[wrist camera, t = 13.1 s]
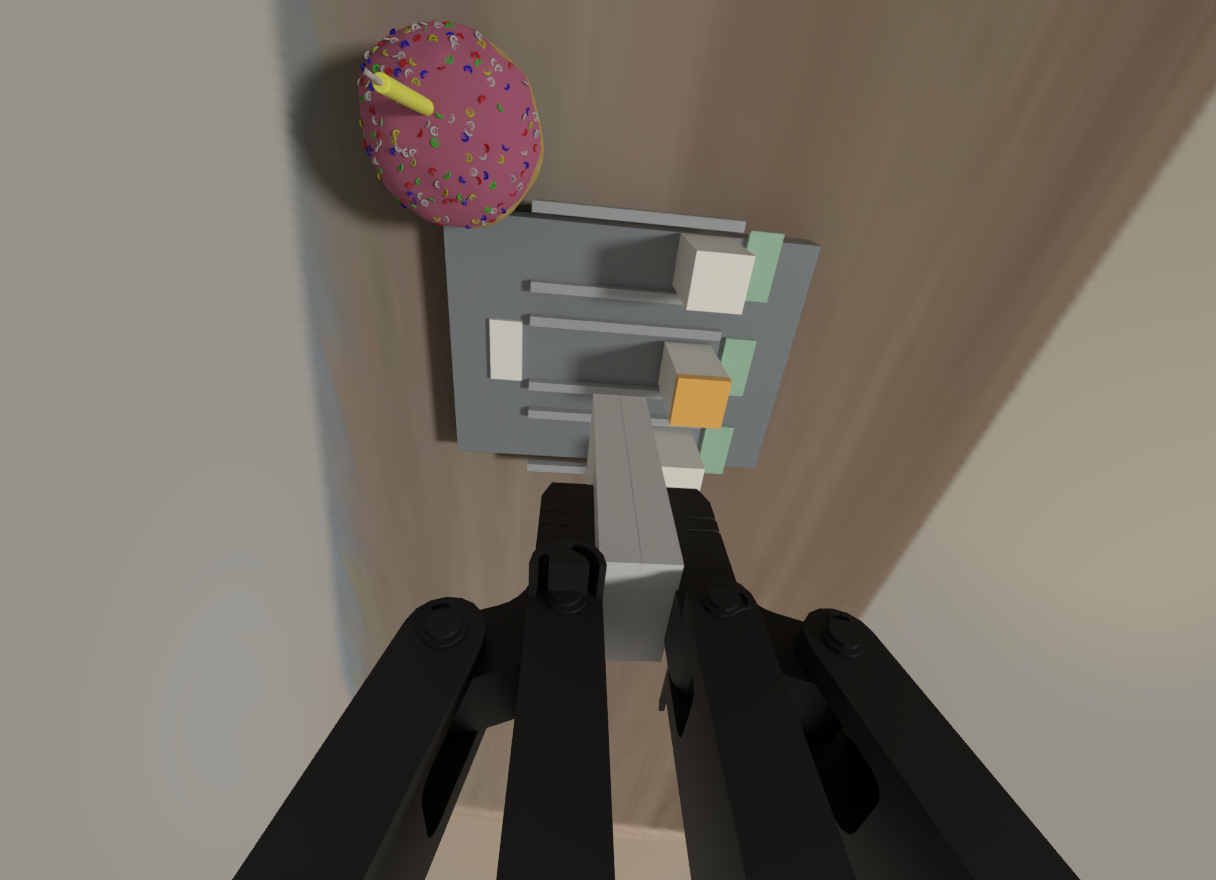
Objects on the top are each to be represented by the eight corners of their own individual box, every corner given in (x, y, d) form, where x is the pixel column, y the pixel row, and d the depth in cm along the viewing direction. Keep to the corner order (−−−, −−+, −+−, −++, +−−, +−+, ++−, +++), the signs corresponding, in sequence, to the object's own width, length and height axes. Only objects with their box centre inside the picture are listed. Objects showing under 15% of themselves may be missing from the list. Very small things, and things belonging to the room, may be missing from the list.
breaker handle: (664, 341, 33) (678, 377, 28) (710, 344, 33) (732, 381, 28) (657, 383, 34) (669, 425, 29) (701, 386, 34) (720, 428, 30)
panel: (449, 185, 30) (415, 200, 24) (813, 222, 31) (867, 245, 26) (464, 447, 39) (442, 505, 33) (744, 464, 41) (772, 521, 35)
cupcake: (357, 96, 27) (221, 78, 17) (487, -6, 25) (422, -94, 15) (458, 243, 31) (398, 300, 21) (577, 165, 29) (574, 187, 19)
